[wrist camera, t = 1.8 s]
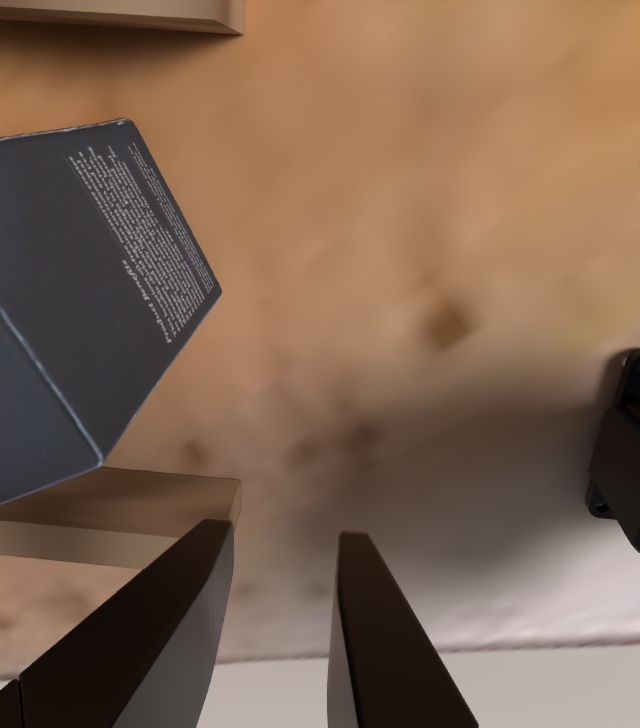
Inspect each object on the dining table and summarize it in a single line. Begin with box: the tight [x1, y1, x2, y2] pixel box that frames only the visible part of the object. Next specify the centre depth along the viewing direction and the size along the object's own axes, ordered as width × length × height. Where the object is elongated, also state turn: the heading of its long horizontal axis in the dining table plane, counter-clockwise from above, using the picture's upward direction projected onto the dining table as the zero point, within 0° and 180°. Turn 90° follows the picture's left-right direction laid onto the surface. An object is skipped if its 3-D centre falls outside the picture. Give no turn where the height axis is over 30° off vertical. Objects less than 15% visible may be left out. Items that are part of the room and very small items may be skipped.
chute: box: [0, 0, 244, 569], centre depth 18 cm, size 11×18×4 cm, turn 177°
